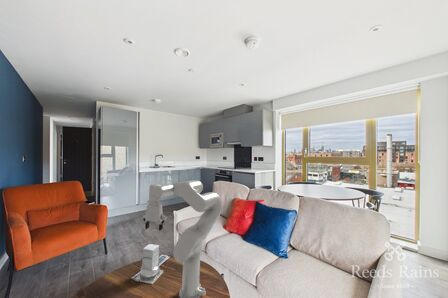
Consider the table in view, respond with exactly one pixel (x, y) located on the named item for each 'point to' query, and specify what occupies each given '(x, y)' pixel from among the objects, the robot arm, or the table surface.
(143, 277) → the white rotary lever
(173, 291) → the table surface
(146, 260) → the supplement box
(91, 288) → the table surface
